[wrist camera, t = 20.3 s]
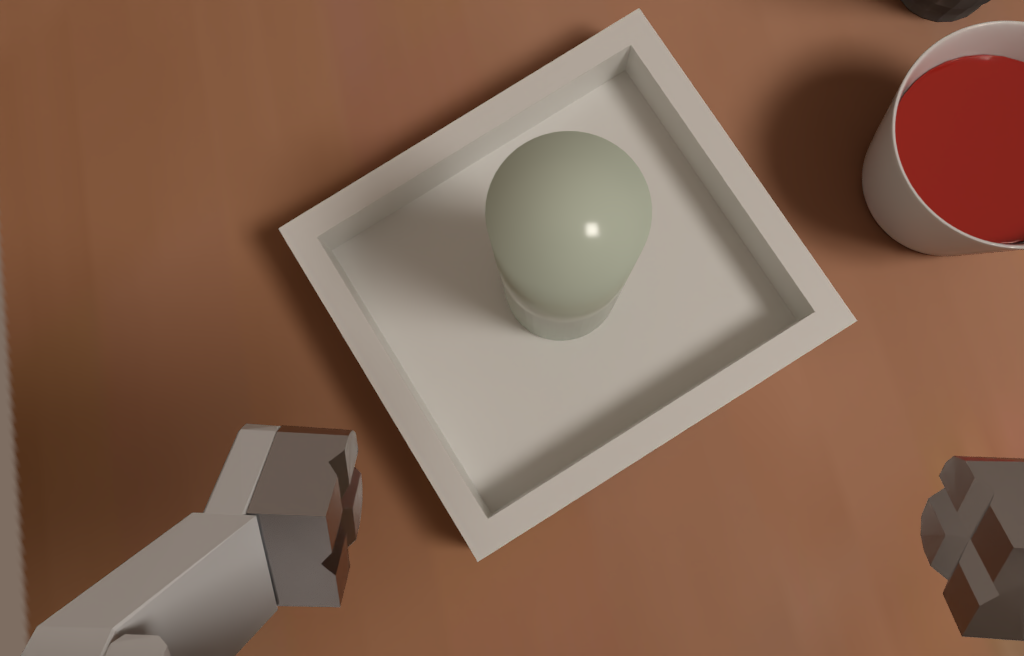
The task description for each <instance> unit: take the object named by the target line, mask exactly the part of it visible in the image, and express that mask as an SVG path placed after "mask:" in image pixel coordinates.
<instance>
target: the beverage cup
mask: <svg viewBox="0 0 1024 656" xmlns="http://www.w3.org/2000/svg"><path fill="white" fill-rule="evenodd" d="M901 1H902V2H903V3H904V5H905V6H906V7H907V8H908V9H909V10H910V11H912V12H914V13H915V14H917V15H918V16H920V17H922V18H925V19H929V20H932V21H936V22H951V21H955V20H958V19H961V18H964V17H967V16H968V15H970V14H971V13H972V12H974V11H975V10H977V9H978V8H979V7H980V6H981V5H982V4H985V3H987V2H988V1H990V0H901Z"/></svg>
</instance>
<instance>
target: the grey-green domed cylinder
mask: <svg viewBox="0 0 1024 656" xmlns="http://www.w3.org/2000/svg"><path fill="white" fill-rule="evenodd" d="M485 218H486V226H487V231H488V235H489V239H490V242H491V246H492V250H493V253H494V257H495V261H496V264H497V268H498V272H499V275H500V279H501V283H502V286H503V290H504V294H505V297H506V301H507V304H508V306H509V309H510V311H511V312H512V314H513V316H514V317H515V318H516V320H517V321H518V322H519V323H520V324H521V325H522V326H523V327H524V328H526V329H527V330H528V331H530V332H531V333H533V334H535V335H537V336H539V337H542V338H545V339H549V340H555V341H566V340H573V339H577V338H580V337H582V336H585V335H587V334H589V333H591V332H592V331H594V330H595V329H596V328H598V327H599V326H600V325H601V324H602V323H603V322H604V321H605V319H606V318H607V317H608V315H609V314H610V312H611V310H612V308H613V306H614V304H615V302H616V301H617V299H618V297H619V295H620V293H621V291H622V289H623V287H624V285H625V283H626V281H627V279H628V277H629V275H630V273H631V271H632V269H633V267H634V265H635V264H636V262H637V260H638V258H639V256H640V254H641V252H642V250H643V248H644V246H645V243H646V241H647V239H648V235H649V232H650V228H651V221H652V202H651V196H650V192H649V188H648V185H647V183H646V180H645V178H644V176H643V174H642V172H641V171H640V169H639V167H638V166H637V165H636V163H635V162H634V161H633V160H632V158H631V157H630V156H629V155H628V154H627V153H626V152H625V151H623V150H622V149H621V148H619V147H618V146H617V145H615V144H613V143H612V142H610V141H608V140H606V139H604V138H602V137H599V136H597V135H593V134H590V133H586V132H579V131H559V132H552V133H548V134H544V135H541V136H539V137H536V138H533V139H531V140H530V141H528V142H526V143H524V144H523V145H521V146H520V147H518V148H517V149H515V150H514V151H513V152H512V153H511V154H510V155H509V156H508V157H507V158H506V159H505V160H504V162H503V163H502V164H501V165H500V167H499V168H498V170H497V171H496V173H495V175H494V177H493V179H492V181H491V183H490V187H489V190H488V193H487V198H486V205H485Z"/></svg>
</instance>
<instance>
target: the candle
mask: <svg viewBox="0 0 1024 656" xmlns="http://www.w3.org/2000/svg"><path fill="white" fill-rule="evenodd" d="M862 188H863V193H864V197H865V201H866V204H867V206H868V208H869V210H870V212H871V214H872V216H873V218H874V219H875V221H876V222H877V223H878V225H879V226H880V227H881V228H882V229H883V230H884V231H885V232H886V233H887V234H888V235H889V236H890V237H891V238H893V239H894V240H895V241H897V242H898V243H900V244H902V245H904V246H905V247H908V248H910V249H912V250H915V251H917V252H920V253H924V254H929V255H935V256H962V255H974V254H984V253H994V252H1005V251H1015V250H1024V22H1020V21H993V22H985V23H980V24H976V25H972V26H969V27H966V28H963V29H960V30H958V31H955V32H953V33H951V34H949V35H947V36H946V37H944V38H942V39H941V40H939V41H938V42H936V43H935V44H934V45H932V46H931V47H930V48H929V49H927V50H926V51H925V52H924V53H923V54H922V55H921V56H920V57H919V58H918V59H917V60H916V62H915V63H914V64H913V65H912V67H911V68H910V70H909V71H908V72H907V74H906V76H905V77H904V79H903V81H902V83H901V85H900V86H899V88H898V90H897V92H896V94H895V96H894V98H893V100H892V102H891V104H890V106H889V108H888V109H887V111H886V113H885V115H884V117H883V119H882V121H881V123H880V125H879V127H878V129H877V131H876V133H875V135H874V137H873V139H872V141H871V143H870V145H869V147H868V150H867V152H866V155H865V159H864V163H863V169H862Z"/></svg>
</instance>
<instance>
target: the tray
mask: <svg viewBox="0 0 1024 656" xmlns="http://www.w3.org/2000/svg"><path fill="white" fill-rule="evenodd" d="M559 131H579V132H586V133H590V134H593V135H597V136H599V137H602V138H604V139H606V140H608V141H610V142H612V143H613V144H615V145H617V146H618V147H619V148H621V149H622V150H623V151H625V152H626V153H627V154H628V155H629V156H630V157H631V158H632V160H633V161H634V162H635V163H636V165H637V166H638V167H639V169H640V171H641V172H642V174H643V176H644V178H645V180H646V183H647V185H648V188H649V192H650V196H651V202H652V221H651V228H650V232H649V235H648V239H647V241H646V243H645V246H644V248H643V250H642V252H641V254H640V256H639V258H638V260H637V262H636V264H635V265H634V267H633V269H632V271H631V273H630V275H629V277H628V279H627V281H626V283H625V285H624V287H623V289H622V291H621V293H620V295H619V297H618V299H617V301H616V302H615V304H614V306H613V308H612V310H611V312H610V314H609V315H608V317H607V318H606V319H605V321H604V322H603V323H602V324H601V325H600V326H599V327H598V328H596V329H595V330H594V331H592V332H591V333H589V334H587V335H585V336H582V337H580V338H577V339H573V340H566V341H555V340H549V339H545V338H542V337H539V336H537V335H535V334H533V333H531V332H530V331H528V330H527V329H526V328H524V327H523V326H522V325H521V324H520V323H519V322H518V321H517V320H516V318H515V317H514V316H513V314H512V312H511V311H510V309H509V306H508V304H507V301H506V297H505V294H504V290H503V286H502V283H501V279H500V275H499V272H498V268H497V264H496V261H495V257H494V253H493V250H492V246H491V242H490V239H489V235H488V231H487V226H486V218H485V205H486V198H487V193H488V190H489V187H490V183H491V181H492V179H493V177H494V175H495V173H496V171H497V170H498V168H499V167H500V165H501V164H502V163H503V162H504V160H505V159H506V158H507V157H508V156H509V155H510V154H511V153H512V152H513V151H514V150H515V149H517V148H518V147H520V146H521V145H523V144H524V143H526V142H528V141H530V140H531V139H533V138H536V137H539V136H541V135H544V134H548V133H552V132H559ZM278 229H279V231H280V232H281V234H282V236H283V237H284V239H285V241H286V242H287V244H288V246H289V247H290V249H291V251H292V252H293V254H294V256H295V257H296V259H297V261H298V262H299V264H300V266H301V267H302V269H303V271H304V272H305V274H306V276H307V277H308V279H309V281H310V282H311V284H312V286H313V287H314V289H315V291H316V292H317V294H318V296H319V297H320V299H321V301H322V302H323V304H324V306H325V307H326V309H327V311H328V312H329V314H330V316H331V317H332V319H333V321H334V322H335V324H336V326H337V327H338V329H339V331H340V332H341V334H342V336H343V337H344V339H345V341H346V343H347V344H348V346H349V348H350V349H351V351H352V353H353V354H354V356H355V358H356V359H357V361H358V363H359V364H360V366H361V368H362V369H363V371H364V373H365V374H366V376H367V378H368V379H369V381H370V383H371V384H372V386H373V388H374V389H375V391H376V393H377V394H378V396H379V398H380V399H381V401H382V403H383V404H384V406H385V408H386V409H387V411H388V413H389V414H390V416H391V418H392V419H393V421H394V423H395V424H396V426H397V428H398V429H399V431H400V433H401V434H402V436H403V438H404V439H405V441H406V443H407V444H408V446H409V448H410V449H411V451H412V453H413V454H414V456H415V458H416V459H417V461H418V463H419V464H420V466H421V468H422V469H423V471H424V473H425V474H426V476H427V478H428V480H429V481H430V483H431V485H432V486H433V488H434V490H435V491H436V493H437V495H438V496H439V498H440V500H441V501H442V503H443V505H444V506H445V508H446V510H447V511H448V513H449V515H450V516H451V518H452V520H453V521H454V523H455V525H456V526H457V528H458V530H459V531H460V533H461V535H462V536H463V538H464V540H465V541H466V543H467V545H468V546H469V548H470V550H471V551H472V553H473V555H474V556H475V558H476V560H477V561H480V560H481V559H483V558H485V557H486V556H488V555H489V554H491V553H493V552H494V551H496V550H497V549H499V548H500V547H502V546H504V545H505V544H507V543H508V542H510V541H511V540H513V539H515V538H516V537H518V536H519V535H521V534H522V533H524V532H526V531H527V530H529V529H530V528H532V527H533V526H535V525H537V524H538V523H540V522H541V521H543V520H544V519H546V518H548V517H549V516H551V515H552V514H554V513H555V512H557V511H559V510H560V509H562V508H563V507H565V506H566V505H568V504H570V503H571V502H573V501H574V500H576V499H577V498H579V497H581V496H582V495H584V494H585V493H587V492H588V491H590V490H592V489H593V488H595V487H596V486H598V485H600V484H601V483H603V482H604V481H606V480H607V479H609V478H611V477H612V476H614V475H615V474H617V473H618V472H620V471H622V470H623V469H625V468H626V467H628V466H629V465H631V464H633V463H634V462H636V461H637V460H639V459H640V458H642V457H644V456H645V455H647V454H648V453H650V452H651V451H653V450H655V449H656V448H658V447H659V446H661V445H662V444H664V443H666V442H667V441H669V440H670V439H672V438H673V437H675V436H677V435H678V434H680V433H681V432H683V431H684V430H686V429H688V428H689V427H691V426H692V425H694V424H695V423H697V422H699V421H700V420H702V419H703V418H705V417H707V416H708V415H710V414H711V413H713V412H714V411H716V410H718V409H719V408H721V407H722V406H724V405H725V404H727V403H729V402H730V401H732V400H733V399H735V398H736V397H738V396H740V395H741V394H743V393H744V392H746V391H747V390H749V389H751V388H752V387H754V386H755V385H757V384H758V383H760V382H762V381H763V380H765V379H766V378H768V377H769V376H771V375H773V374H774V373H776V372H777V371H779V370H780V369H782V368H784V367H785V366H787V365H788V364H790V363H791V362H793V361H795V360H796V359H798V358H799V357H801V356H802V355H804V354H806V353H807V352H809V351H810V350H812V349H814V348H815V347H817V346H818V345H820V344H821V343H823V342H825V341H826V340H828V339H829V338H831V337H832V336H834V335H836V334H837V333H839V332H840V331H842V330H843V329H845V328H847V327H848V326H850V325H851V324H853V323H854V322H856V321H857V320H856V319H855V317H854V316H853V314H852V313H851V311H850V310H849V309H848V307H847V306H846V304H845V303H844V301H843V300H842V298H841V297H840V296H839V294H838V293H837V291H836V290H835V288H834V287H833V286H832V284H831V283H830V281H829V280H828V278H827V277H826V276H825V274H824V273H823V271H822V270H821V268H820V267H819V265H818V264H817V263H816V261H815V260H814V258H813V257H812V255H811V254H810V253H809V251H808V250H807V248H806V247H805V245H804V244H803V243H802V241H801V240H800V238H799V237H798V235H797V234H796V232H795V231H794V230H793V228H792V227H791V225H790V224H789V222H788V221H787V220H786V218H785V217H784V215H783V214H782V212H781V211H780V210H779V208H778V207H777V205H776V204H775V202H774V201H773V199H772V198H771V197H770V195H769V194H768V192H767V191H766V189H765V188H764V187H763V185H762V184H761V182H760V181H759V179H758V178H757V177H756V175H755V174H754V172H753V171H752V169H751V168H750V166H749V165H748V164H747V162H746V161H745V159H744V158H743V156H742V155H741V154H740V152H739V151H738V149H737V148H736V146H735V145H734V144H733V142H732V141H731V139H730V138H729V136H728V135H727V133H726V132H725V131H724V129H723V128H722V126H721V125H720V123H719V122H718V121H717V119H716V118H715V116H714V115H713V113H712V112H711V111H710V109H709V108H708V106H707V105H706V103H705V102H704V100H703V99H702V98H701V96H700V95H699V93H698V92H697V90H696V89H695V88H694V86H693V85H692V83H691V82H690V80H689V79H688V77H687V76H686V75H685V73H684V72H683V70H682V69H681V67H680V66H679V65H678V63H677V62H676V60H675V59H674V57H673V56H672V55H671V53H670V52H669V50H668V49H667V47H666V46H665V44H664V43H663V42H662V40H661V39H660V37H659V36H658V34H657V33H656V32H655V30H654V29H653V27H652V26H651V24H650V23H649V22H648V20H647V19H646V17H645V16H644V14H643V13H642V11H641V10H640V9H639V8H638V9H637V10H635V11H633V12H632V13H630V14H629V15H627V16H625V17H624V18H622V19H620V20H619V21H617V22H615V23H614V24H612V25H611V26H609V27H607V28H606V29H604V30H602V31H601V32H599V33H597V34H596V35H594V36H593V37H591V38H589V39H588V40H586V41H584V42H583V43H581V44H579V45H578V46H576V47H575V48H573V49H571V50H570V51H568V52H566V53H565V54H563V55H561V56H560V57H558V58H557V59H555V60H553V61H552V62H550V63H548V64H547V65H545V66H543V67H542V68H540V69H539V70H537V71H535V72H534V73H532V74H530V75H529V76H527V77H525V78H524V79H522V80H521V81H519V82H517V83H516V84H514V85H512V86H511V87H509V88H507V89H506V90H504V91H503V92H501V93H499V94H498V95H496V96H494V97H493V98H491V99H489V100H488V101H486V102H485V103H483V104H481V105H480V106H478V107H476V108H475V109H473V110H471V111H470V112H468V113H467V114H465V115H463V116H462V117H460V118H458V119H457V120H455V121H453V122H452V123H450V124H449V125H447V126H445V127H444V128H442V129H440V130H439V131H437V132H435V133H434V134H432V135H431V136H429V137H427V138H426V139H424V140H422V141H421V142H419V143H417V144H416V145H414V146H412V147H411V148H409V149H408V150H406V151H404V152H403V153H401V154H399V155H398V156H396V157H394V158H393V159H391V160H390V161H388V162H386V163H385V164H383V165H381V166H380V167H378V168H376V169H375V170H373V171H372V172H370V173H368V174H367V175H365V176H363V177H362V178H360V179H358V180H357V181H355V182H354V183H352V184H350V185H349V186H347V187H345V188H344V189H342V190H340V191H339V192H337V193H336V194H334V195H332V196H331V197H329V198H327V199H326V200H324V201H322V202H321V203H319V204H318V205H316V206H314V207H313V208H311V209H309V210H308V211H306V212H304V213H303V214H301V215H300V216H298V217H296V218H295V219H293V220H291V221H290V222H288V223H286V224H285V225H283V226H282V227H280V228H278Z"/></svg>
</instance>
